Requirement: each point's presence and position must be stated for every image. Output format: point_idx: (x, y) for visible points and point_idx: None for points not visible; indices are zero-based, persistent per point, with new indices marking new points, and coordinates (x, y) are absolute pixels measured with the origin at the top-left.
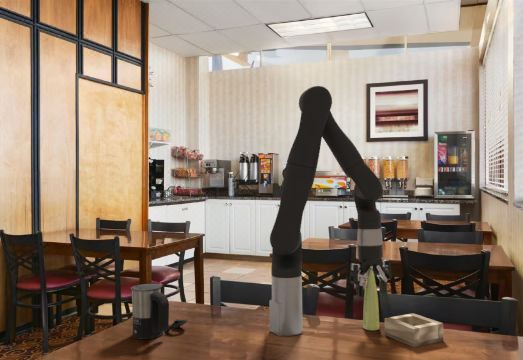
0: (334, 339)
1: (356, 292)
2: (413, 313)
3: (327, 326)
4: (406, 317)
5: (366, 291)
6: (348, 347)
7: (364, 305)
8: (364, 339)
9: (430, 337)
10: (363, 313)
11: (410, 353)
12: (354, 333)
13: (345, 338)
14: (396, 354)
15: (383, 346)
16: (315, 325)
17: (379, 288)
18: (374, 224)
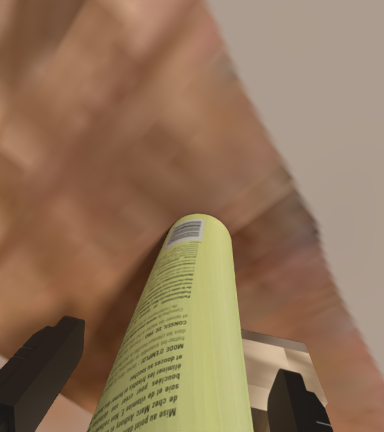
0: (9, 238)
1: (25, 347)
2: (325, 404)
3: (69, 102)
4: (253, 404)
5: (103, 391)
6: (9, 309)
7: (143, 290)
8: (92, 298)
9: None
10: (161, 252)
11: None
12: (105, 240)
13: (46, 254)
14: (85, 405)
15: (98, 361)
16: (30, 50)
17: (290, 399)
18: None
